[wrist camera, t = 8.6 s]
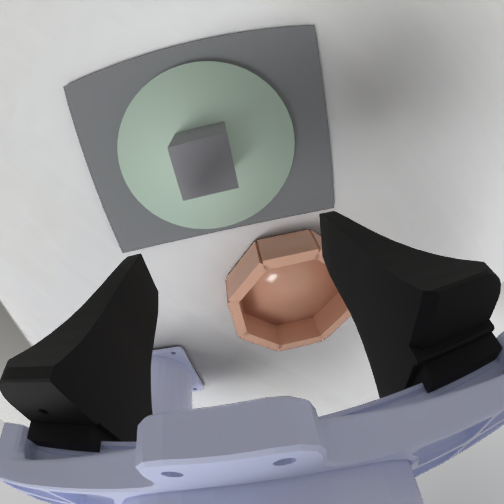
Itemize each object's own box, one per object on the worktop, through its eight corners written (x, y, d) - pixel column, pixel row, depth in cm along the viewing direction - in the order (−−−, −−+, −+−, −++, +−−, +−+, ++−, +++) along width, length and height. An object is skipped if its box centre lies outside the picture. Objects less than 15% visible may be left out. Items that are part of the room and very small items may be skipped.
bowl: (242, 333, 29) (245, 358, 27) (216, 246, 24) (217, 270, 21) (343, 310, 29) (354, 332, 27) (344, 219, 24) (359, 240, 21)
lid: (150, 238, 22) (140, 275, 18) (100, 91, 16) (73, 100, 12) (301, 204, 22) (319, 236, 18) (276, 46, 16) (294, 41, 12)
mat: (124, 249, 23) (122, 253, 22) (66, 85, 15) (63, 86, 15) (331, 204, 23) (334, 207, 22) (311, 25, 15) (313, 25, 15)
